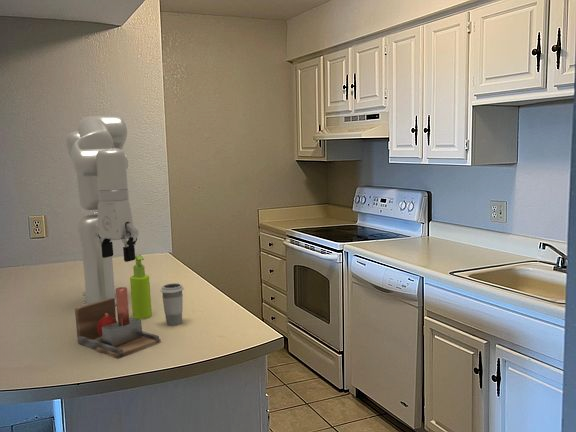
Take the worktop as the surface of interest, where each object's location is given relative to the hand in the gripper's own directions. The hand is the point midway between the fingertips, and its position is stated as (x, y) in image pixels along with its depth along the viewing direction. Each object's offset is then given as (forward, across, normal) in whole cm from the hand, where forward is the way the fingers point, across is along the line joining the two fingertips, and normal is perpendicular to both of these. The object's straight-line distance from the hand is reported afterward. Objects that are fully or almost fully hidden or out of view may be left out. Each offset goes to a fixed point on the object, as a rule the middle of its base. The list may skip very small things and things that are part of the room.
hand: (118, 258), depth 152 cm
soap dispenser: (+25, -16, +19) cm, 35 cm away
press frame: (+24, -3, 0) cm, 25 cm away
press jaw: (+23, 0, 0) cm, 23 cm away
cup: (+25, -2, +20) cm, 32 cm away
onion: (+25, -7, 0) cm, 26 cm away
